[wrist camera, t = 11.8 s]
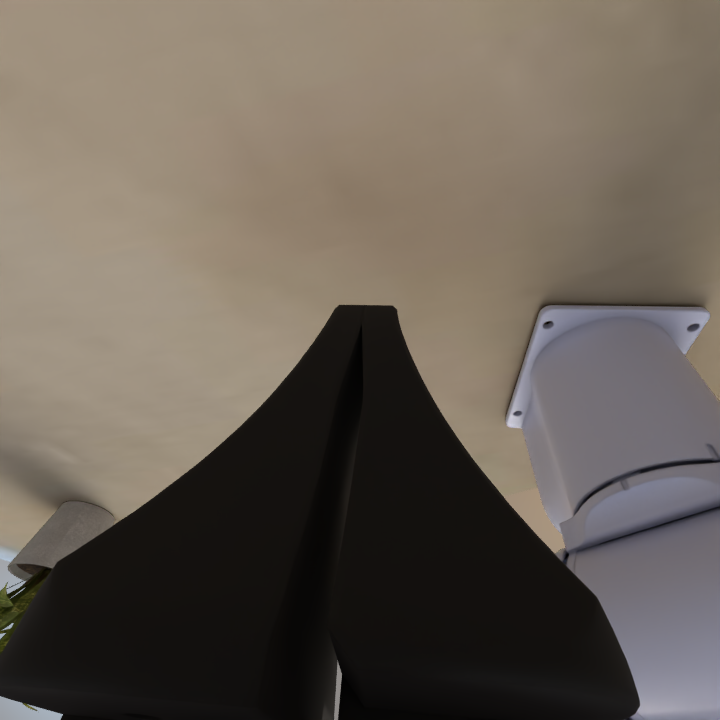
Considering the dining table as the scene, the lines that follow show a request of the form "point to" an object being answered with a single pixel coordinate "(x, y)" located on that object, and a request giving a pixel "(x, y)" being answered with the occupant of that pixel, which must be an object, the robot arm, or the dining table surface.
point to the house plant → (48, 556)
